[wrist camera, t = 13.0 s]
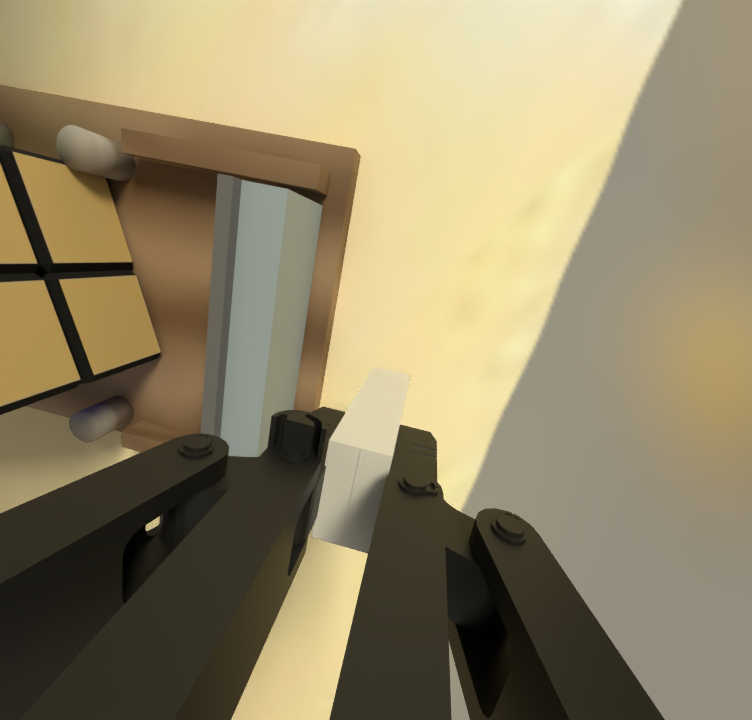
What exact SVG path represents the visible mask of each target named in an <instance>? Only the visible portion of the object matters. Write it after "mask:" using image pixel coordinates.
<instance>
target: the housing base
mask: <svg viewBox="0 0 752 720" xmlns="http://www.w3.org/2000/svg"><path fill="white" fill-rule="evenodd" d="M0 145H6V146H10V147H13V148H17V149H21V150H25V151H29V152H32V153H36V154H40V155H44V156H48V157H51V158H55V159H59V160H62V161H63V163H64V164H65V165H67V166H68V167H69V168H71V169H74V170H78V171H82V172H86V173H90V174H94V175H98V176H102V177H106V180H107V183H108V186H109V189H110V192H111V195H112V198H113V202H114V205H115V208H116V211H117V214H118V217H119V220H120V224H121V227H122V230H123V233H124V236H125V239H126V242H127V245H128V249H129V252H130V255H131V258H132V261H133V263H132V265H131V268H130V269H128V270H131V271H132V272H133V273H135V274H136V275H137V278H138V281H139V284H140V287H141V290H142V294H143V297H144V300H145V303H146V306H147V309H148V312H149V315H150V319H151V322H152V325H153V328H154V331H155V334H156V337H157V341H158V344H159V347H160V350H161V354H160V356H159V358H158V359H155V360H152V361H150V362H147V363H144V364H141V365H139V366H136V367H133V368H130V369H128V370H125V371H122V372H119V373H117V374H114V375H111V376H108V377H105V378H103V379H100V380H97V381H94V382H92V383H86V384H79V385H78V387H77V388H74V389H72V390H69V391H66V392H63V393H60V394H58V395H55V396H52V397H49V398H46V399H43V400H41V401H38V402H35V403H32V404H29V405H27V406H28V407H32V408H36V409H39V410H43V411H47V412H50V413H54V414H58V415H62V416H65V417H69V418H70V421H69V425H70V429H71V431H72V432H73V434H74V435H75V436H76V437H77V438H78V439H80V440H82V441H84V442H92V441H94V440H96V439H98V438H100V437H102V436H104V435H106V434H107V433H109V432H111V431H113V430H117V431H121V432H122V447H125V448H128V449H132V450H136V451H139V452H144V451H146V450H149V449H151V448H153V447H156V446H158V445H160V444H163V443H165V442H167V441H170V440H172V439H174V438H177V437H180V436H184V435H189V434H196V433H201V419H202V404H203V389H204V374H205V359H206V343H207V328H208V313H209V298H210V283H211V268H212V253H213V237H214V222H215V207H216V192H217V177H218V174H223V175H228V176H233V177H236V178H238V179H241V180H244V181H250V182H255V183H260V184H265V185H270V186H275V187H281V188H286V189H289V190H291V191H293V192H295V193H297V194H299V195H301V196H304V197H306V198H308V199H310V200H312V201H314V202H316V203H318V204H320V205H322V206H323V207H322V214H321V221H320V228H319V235H318V242H317V249H316V256H315V263H314V270H313V277H312V284H311V291H310V297H309V304H308V311H307V318H306V325H305V332H304V339H303V346H302V353H301V360H300V367H299V374H298V381H297V388H296V395H295V402H294V409H293V410H301V411H308V412H312V411H314V410H317V409H319V405H320V399H321V393H322V387H323V381H324V375H325V369H326V363H327V357H328V351H329V345H330V339H331V332H332V326H333V320H334V314H335V308H336V302H337V296H338V290H339V284H340V278H341V272H342V266H343V260H344V253H345V247H346V241H347V235H348V229H349V223H350V217H351V211H352V205H353V199H354V193H355V187H356V181H357V174H358V168H359V162H360V154H359V153H358V152H357V150H356V149H353V148H348V147H342V146H337V145H331V144H325V143H320V142H314V141H309V140H303V139H298V138H292V137H287V136H281V135H275V134H270V133H264V132H259V131H253V130H248V129H242V128H236V127H231V126H225V125H220V124H214V123H209V122H203V121H197V120H192V119H186V118H181V117H175V116H170V115H164V114H159V113H153V112H147V111H142V110H136V109H131V108H125V107H120V106H114V105H108V104H103V103H97V102H92V101H86V100H81V99H75V98H69V97H64V96H58V95H53V94H47V93H42V92H36V91H31V90H25V89H19V88H14V87H8V86H3V85H0Z"/></svg>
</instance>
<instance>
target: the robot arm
mask: <svg viewBox="0 0 752 720" xmlns="http://www.w3.org/2000/svg"><path fill="white" fill-rule="evenodd" d="M409 380H410V374H406V373H401V372H397V371H393V370H389V369H384V368H380V367H376V366H374V367H373V368H372V370H371V372H370V373H369V375H368V377H367V378H366V380H365V381H364V383H363V385H362V386H361V388H360V390H359V391H358V393H357V395H356V396H355V398H354V400H353V401H352V403H351V405H350V406H349V408H348V410H347V411H346V412H342V411H338V410H334V409H330V408H326V407H322V408H319V409H317V410H314V411H312V412H308V411H301V410H285V411H280V412H277V413H275V414H274V415H272V416H271V424H270V431H269V439H268V447H267V448H266V450H265V451H264V452H263V453H262V454H261V455H260V456H259V457H240V456H229V446H228V444H227V442H226V441H225V440H223V439H222V438H220V437H217V436H214V435H210V434H203V433H196V434H189V435H184V436H180V437H177V438H174V439H172V440H170V441H167V442H165V443H163V444H160V445H158V446H156V447H153V448H151V449H149V450H146V451H144V452H142V453H139V454H137V455H135V456H132V457H130V458H128V459H126V460H123V461H121V462H119V463H116V464H114V465H112V466H109V467H107V468H105V469H102V470H100V471H98V472H95V473H93V474H91V475H88V476H86V477H84V478H82V479H79V480H77V481H75V482H72V483H70V484H68V485H65V486H63V487H61V488H58V489H56V490H54V491H51V492H49V493H47V494H45V495H42V496H40V497H38V498H35V499H33V500H31V501H28V502H26V503H24V504H21V505H19V506H17V507H14V508H12V509H10V510H7V511H5V512H3V513H1V514H0V720H231V718H232V716H233V714H234V711H235V709H236V707H237V705H238V702H239V700H240V698H241V696H242V694H243V691H244V689H245V687H246V685H247V682H248V680H249V678H250V676H251V673H252V671H253V669H254V667H255V664H256V662H257V660H258V658H259V655H260V653H261V651H262V649H263V646H264V644H265V642H266V640H267V637H268V635H269V633H270V631H271V628H272V626H273V624H274V622H275V619H276V617H277V615H278V613H279V610H280V608H281V606H282V604H283V601H284V599H285V597H286V595H287V592H288V590H289V588H290V586H291V584H292V581H293V579H294V577H295V575H296V572H297V570H298V568H299V566H300V563H301V561H302V559H303V557H304V554H305V550H306V545H307V539H308V535H309V533H310V531H311V529H312V526H313V524H314V527H313V532H312V538H316V539H319V540H323V541H326V542H330V543H333V544H337V545H341V546H344V547H348V548H351V549H355V550H358V551H362V552H365V553H368V557H367V561H366V565H365V570H364V574H363V578H362V582H361V587H360V591H359V595H358V600H357V604H356V608H355V612H354V617H353V621H352V625H351V630H350V634H349V638H348V642H347V647H346V651H345V655H344V660H343V664H342V668H341V672H340V677H339V681H338V685H337V690H336V694H335V698H334V703H333V707H332V711H331V715H330V720H451V697H450V668H449V642H450V646H451V649H452V654H453V657H454V661H455V665H456V669H457V672H458V676H459V680H460V684H461V687H462V691H463V695H464V699H465V702H466V706H467V710H468V714H469V717H470V720H664V718H663V717H662V715H661V714H660V712H659V711H658V709H657V708H656V706H655V705H654V703H653V702H652V700H651V699H650V697H649V696H648V695H647V693H646V691H645V690H644V689H643V687H642V686H641V684H640V683H639V681H638V680H637V678H636V677H635V675H634V674H633V672H632V671H631V669H630V668H629V666H628V665H627V664H626V662H625V661H624V659H623V658H622V656H621V655H620V653H619V652H618V650H617V649H616V648H615V646H614V644H613V643H612V641H611V640H610V639H609V637H608V636H607V634H606V633H605V631H604V630H603V628H602V627H601V625H600V624H599V622H598V621H597V619H596V618H595V616H594V615H593V613H592V612H591V611H590V609H589V608H588V606H587V605H586V603H585V602H584V600H583V599H582V597H581V596H580V594H579V593H578V591H577V590H576V588H575V587H574V586H573V584H572V583H571V581H570V580H569V578H568V577H567V575H566V574H565V572H564V571H563V569H562V568H561V566H560V565H559V563H558V562H557V560H556V559H555V558H554V556H553V554H552V553H551V552H550V550H549V549H548V547H547V546H546V544H545V543H544V541H543V540H542V538H541V537H540V535H539V534H538V533H537V532H536V531H535V529H534V528H533V527H532V526H531V525H530V524H529V523H527V522H526V521H524V520H523V519H522V518H520V517H519V516H517V515H515V514H512V513H511V512H508V511H504V510H499V509H496V508H495V509H484V510H482V511H480V512H479V513H478V514H477V517H476V519H473V518H471V517H469V516H467V515H465V514H463V513H461V512H460V511H458V510H456V509H454V508H453V507H452V506H450V505H449V504H448V503H447V502H446V501H445V500H444V499H443V491H442V488H441V486H440V485H439V484H438V483H437V459H436V458H437V441H436V440H435V438H434V437H433V436H432V434H431V433H430V432H428V431H424V430H420V429H416V428H412V427H408V426H404V425H400V421H401V417H402V412H403V408H404V403H405V398H406V394H407V389H408V384H409ZM159 516H160V524H159V525H158V526H156V527H155V528H153V529H151V530H149V531H146V530H145V525H146V524H148V523H149V522H151V521H153V520H154V519H156V518H157V517H159ZM448 639H449V640H448ZM448 641H449V642H448Z"/></svg>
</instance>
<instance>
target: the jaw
mask: <svg viewBox="0 0 752 720" xmlns="http://www.w3.org/2000/svg"><path fill="white" fill-rule="evenodd" d="M322 207H323V206H322V205H320V204H318V203H316V202H314V201H312V200H310V199H308V198H306V197H304V196H301V195H299V194H297V193H295V192H293V191H291V190H289V189H286V188H281V187H275V186H270V185H265V184H260V183H255V182H250V181H244V180H241V179H238V178H236V177H233V176H228V175H223V174H218V177H217V192H216V207H215V222H214V237H213V253H212V268H211V283H210V298H209V313H208V328H207V343H206V359H205V374H204V389H203V404H202V419H201V433H203V434H210V435H214V436H217V437H220V438H222V439H223V440H225V441H226V442H227V444H228V446H229V456H240V457H259V456H260V455H261V454H262V453H263V452H264V451H265V450H266V448H267V447H268V439H269V431H270V424H271V416H272V415H274V414H275V413H277V412H280V411H285V410H293V409H294V402H295V395H296V388H297V381H298V374H299V367H300V360H301V353H302V346H303V339H304V332H305V325H306V318H307V311H308V304H309V297H310V291H311V284H312V277H313V270H314V263H315V256H316V249H317V242H318V235H319V228H320V221H321V214H322Z"/></svg>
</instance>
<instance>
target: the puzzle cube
mask: <svg viewBox="0 0 752 720" xmlns="http://www.w3.org/2000/svg"><path fill="white" fill-rule="evenodd" d="M132 263H133V261H132V258H131V255H130V252H129V249H128V245H127V242H126V239H125V236H124V233H123V230H122V227H121V224H120V220H119V217H118V214H117V211H116V208H115V205H114V202H113V198H112V195H111V192H110V189H109V186H108V183H107V180H106V177H102V176H98V175H94V174H90V173H86V172H82V171H78V170H74V169H71V168H69V167H68V166H67V165H65V164H64V163H63V161H62V160H59V159H55V158H51V157H48V156H44V155H40V154H36V153H32V152H29V151H25V150H21V149H17V148H13V147H10V146H6V145H0V415H1V414H4V413H7V412H10V411H13V410H15V409H18V408H21V407H24V406H27V405H29V404H32V403H35V402H38V401H41V400H43V399H46V398H49V397H52V396H55V395H58V394H60V393H63V392H66V391H69V390H72V389H74V388H77V387H78V385H79V384H86V383H92V382H94V381H97V380H100V379H103V378H105V377H108V376H111V375H114V374H117V373H119V372H122V371H125V370H128V369H130V368H133V367H136V366H139V365H141V364H144V363H147V362H150V361H152V360H155V359H158V358H159V356H160V354H161V350H160V347H159V344H158V341H157V337H156V334H155V331H154V328H153V325H152V322H151V319H150V315H149V312H148V309H147V306H146V303H145V300H144V297H143V294H142V290H141V287H140V284H139V281H138V278H137V275H136V274H135V273H133V272H132V271H131V270H128V269H130V268H131V265H132Z"/></svg>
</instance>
